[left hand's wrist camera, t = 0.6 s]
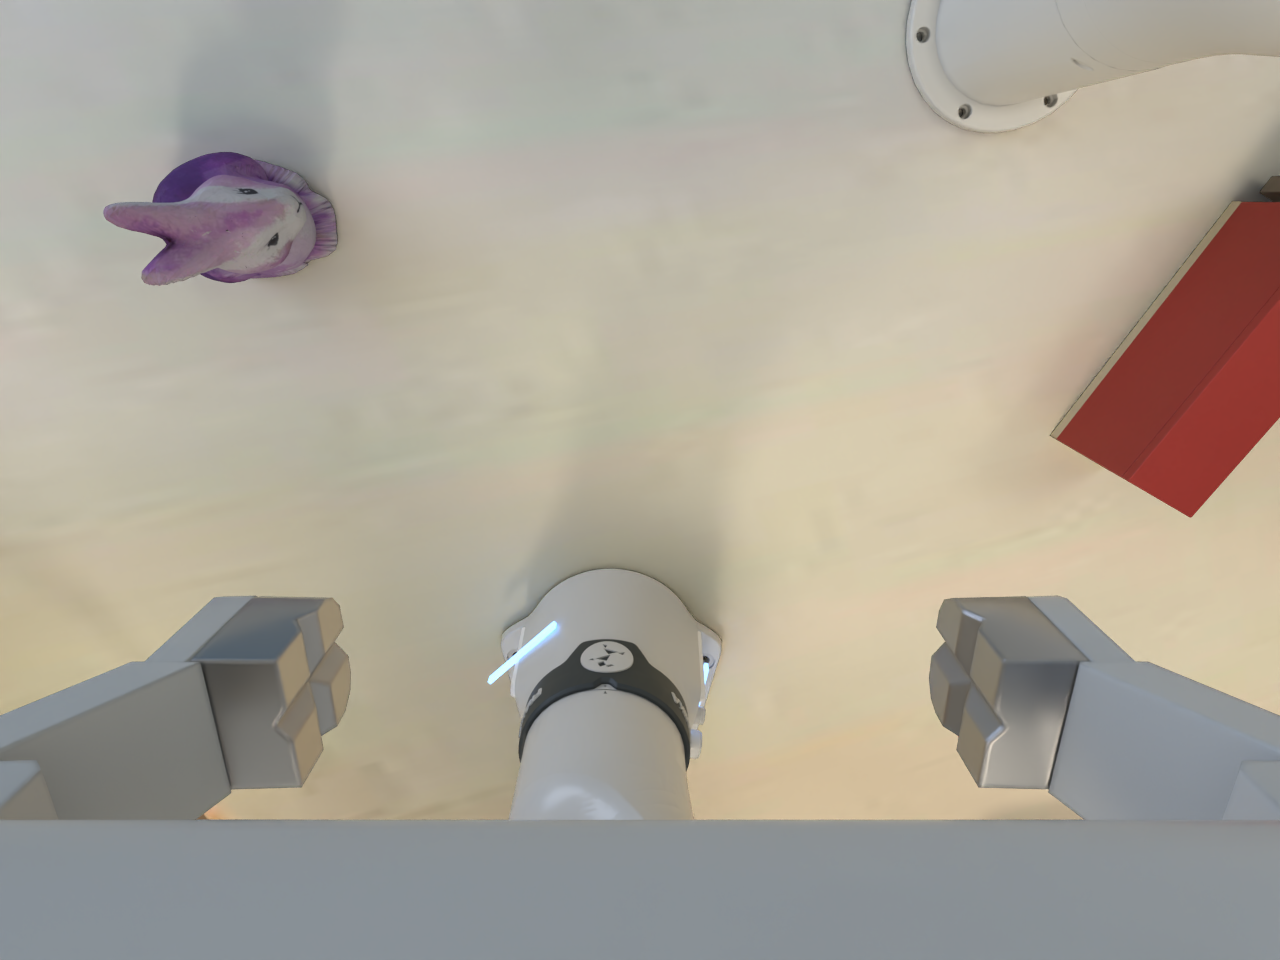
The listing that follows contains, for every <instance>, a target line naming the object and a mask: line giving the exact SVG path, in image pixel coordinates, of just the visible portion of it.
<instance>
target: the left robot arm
mask: <svg viewBox="0 0 1280 960" xmlns="http://www.w3.org/2000/svg"><path fill="white" fill-rule="evenodd" d="M343 628H344V626H343V621H342V616H341V611H340V606H339V604H338V603H337V602H336V601H335V600H334V599H333V598H316V597H262V596H261V597H257V596H224V597H216V598H213V599H212V600H211V601H210V602H209V603H208V604H207V605H206V606H205V607H203V608H202V609H201V610H200V611H199V612H198V613H197V614H196V615H195V616H194V617H193V618H191V619H190V620H189V621H188V622H187V623H186V624H185V625H184V626H183V627H182V628H181V629H179V630H178V631H177V632H176V633H175V634H174V635H173V636H172V637H171V638H170V639H169V640H168V641H166V642H165V643H164V644H163V645H162V646H161V647H160V648H159V649H158V650H157V651H156V652H154V653H153V654H152V655H151V656H150V657H149V658H148V659H147V660H146V661H145V662H130V663H128V664H125V665H123V666H120V667H118V668H115V669H113V670H111V671H108V672H106V673H103V674H101V675H98V676H96V677H93V678H91V679H89V680H86V681H84V682H81V683H79V684H76V685H74V686H71V687H69V688H67V689H64V690H62V691H59V692H57V693H54V694H52V695H49V696H47V697H45V698H42V699H40V700H37V701H35V702H32V703H30V704H27V705H25V706H23V707H20V708H18V709H15V710H13V711H10V712H8V713H5V714H3V715H1V716H0V960H1280V716H1279V715H1277V714H1274V713H1272V712H1269V711H1267V710H1264V709H1262V708H1260V707H1257V706H1255V705H1252V704H1250V703H1247V702H1245V701H1243V700H1240V699H1238V698H1235V697H1233V696H1230V695H1228V694H1225V693H1223V692H1221V691H1218V690H1216V689H1213V688H1211V687H1208V686H1206V685H1204V684H1201V683H1199V682H1196V681H1194V680H1191V679H1189V678H1186V677H1184V676H1182V675H1179V674H1177V673H1174V672H1172V671H1169V670H1167V669H1165V668H1162V667H1160V666H1157V665H1155V664H1152V663H1150V662H1135V661H1134V660H1133V659H1132V658H1131V657H1130V656H1129V655H1128V654H1127V653H1126V652H1125V651H1123V650H1122V649H1121V648H1120V647H1119V646H1118V645H1117V644H1116V643H1115V642H1114V641H1113V640H1111V639H1110V638H1109V637H1108V636H1107V635H1106V634H1105V633H1104V632H1103V631H1102V630H1101V629H1100V628H1098V627H1097V626H1096V625H1095V624H1094V623H1093V622H1092V621H1091V620H1090V619H1089V618H1088V617H1087V616H1085V615H1084V614H1083V613H1082V612H1081V611H1080V610H1079V609H1078V608H1077V607H1076V606H1075V605H1074V604H1072V603H1071V602H1070V601H1069V600H1068V599H1067V598H1064V597H1060V596H1034V597H1026V596H1021V597H980V598H951V599H945V600H944V601H943V603H942V605H941V608H940V610H939V614H938V620H937V626H936V628H937V629H938V631H939V632H940V634H941V635H942V637H943V639H944V640H945V643H944V644H943V645H942V646H941V647H940V648H939V649H938V650H937V651H936V652H935V653H934V654H933V655H932V657H931V665H930V673H929V683H930V694H931V700H932V703H933V706H934V709H935V713H936V714H937V716H938V718H939V720H940V722H941V724H942V725H943V726H944V727H945V728H947V729H948V730H950V731H952V732H953V733H955V734H956V735H958V736H959V738H958V744H957V751H958V753H959V755H960V757H961V758H962V760H963V762H964V763H965V765H966V767H967V769H968V770H969V772H970V774H971V775H972V777H973V779H974V780H975V782H976V784H977V786H978V787H981V788H1018V789H1049V791H1048V793H1050V794H1051V795H1052V796H1054V797H1055V798H1056V799H1058V800H1059V801H1060V802H1062V803H1063V804H1064V805H1066V806H1067V807H1068V808H1070V809H1071V810H1072V811H1074V812H1075V813H1076V814H1078V815H1079V816H1080V817H1082V818H1083V819H1084V820H694V817H693V812H692V807H691V801H690V795H689V789H688V782H687V774H686V771H687V768H688V765H689V759H690V758H691V759H696V758H699V756H700V752H701V747H702V733H701V732H700V731H699V730H697V729H698V726H699V724H700V725H703V723H704V720H705V708H704V706H705V703H706V700H707V697H708V693H709V690H710V687H711V684H712V680H713V677H714V674H715V671H716V667H717V664H718V661H719V658H720V654H721V639H720V638H719V636H718V635H717V634H716V633H715V632H713V631H712V630H710V629H709V628H707V627H706V626H704V625H702V624H701V623H699V622H697V621H696V620H695V619H694V618H693V617H692V615H691V614H690V613H689V611H688V610H687V608H686V607H685V606H684V604H683V603H682V601H681V600H680V599H679V598H678V597H677V596H676V595H675V594H674V593H673V592H672V591H671V590H670V589H669V588H667V587H666V586H665V585H663V584H662V583H660V582H658V581H657V580H655V579H653V578H651V577H649V576H646V575H644V574H641V573H638V572H634V571H629V570H623V569H598V570H592V571H587V572H583V573H580V574H577V575H575V576H572V577H570V578H568V579H566V580H564V581H563V582H561V583H559V584H558V585H557V586H555V587H554V588H553V589H552V590H550V591H549V592H548V593H547V594H546V595H545V596H544V597H543V599H542V600H541V601H540V603H539V604H538V605H537V607H536V608H535V609H534V611H533V612H532V613H531V614H530V615H529V616H528V617H527V618H525V619H523V620H521V621H519V622H517V623H515V624H514V625H512V626H511V627H509V628H508V629H507V630H506V631H505V632H504V633H503V635H502V639H501V649H502V653H503V656H504V660H505V664H503V665H502V666H501V667H500V668H499V669H498V670H496V671H495V672H494V673H493V674H492V675H491V676H490V677H489V680H488V683H489V684H492V683H493V682H494V681H495V680H496V679H497V678H499V677H500V676H501V675H502V674H503V673H504V672H506V671H508V674H509V678H510V682H511V696H512V697H514V698H515V700H516V704H517V708H518V711H519V714H520V718H521V725H520V730H519V738H520V740H519V758H520V763H521V764H520V768H519V773H518V778H517V782H516V787H515V792H514V796H513V801H512V806H511V811H510V815H509V820H196V819H197V818H198V817H200V816H201V815H202V814H204V813H205V812H206V811H208V810H209V809H210V808H212V807H213V806H214V805H216V804H217V803H218V802H220V801H221V800H222V799H224V798H225V797H226V796H228V795H229V794H230V793H231V789H261V788H297V787H302V786H303V784H304V782H305V781H306V779H307V777H308V775H309V774H310V772H311V770H312V769H313V767H314V765H315V763H316V762H317V760H318V758H319V757H320V755H321V753H322V751H323V744H322V738H321V736H322V735H324V734H325V733H327V732H328V731H330V730H332V729H333V728H335V727H336V726H337V725H338V724H339V722H340V720H341V718H342V716H343V714H344V712H345V710H346V706H347V702H348V698H349V694H350V685H351V671H350V664H349V657H348V655H347V654H346V653H345V652H344V651H343V650H342V649H341V648H340V647H339V646H338V645H337V644H336V643H335V640H336V639H337V637H338V635H339V634H340V632H341V631H342V629H343ZM514 652H517V653H516V654H515V653H514ZM703 656H707V657H708V658H707V659H705V660H703Z"/></svg>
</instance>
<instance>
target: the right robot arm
mask: <svg viewBox="0 0 1280 960" xmlns="http://www.w3.org/2000/svg"><path fill="white" fill-rule="evenodd" d="M917 33H920V34H921V35H922V40H921V41H918V40H917V37H916V35H917ZM906 48H907V56H908V64H909V67H910V70H911V74H912V77H913V80H914V83H915V85H916V87H917V88H918V90H919V92H920V94H921V95H922V97H923V99H924V100H925V101H926V103H927V104H928V105H929V106H930V107H931V108H932V109H933V111H934V112H935V113H936V114H938V115H939V116H941V117H942V118H943V119H945V120H946V121H947V122H949V123H950V124H953V125H955V126H958V127H960V128H962V129H965V130H969V131H974V132H980V133H999V132H1005V131H1011V130H1016V129H1019V128H1022V127H1025V126H1028V125H1031V124H1034V123H1036V122H1037V121H1039V120H1041V119H1043V118H1045V117H1046V116H1048V115H1050V114H1052V113H1053V112H1054V111H1055V110H1057V109H1058V108H1059V107H1060V106H1062V105H1063V104H1064V103H1065V102H1067V101H1068V100H1069V99H1070V98H1071V97H1072V95H1073V94H1074V93H1075V92H1076V91H1077V90H1078V89H1079V88H1082V87H1086V86H1090V85H1094V84H1098V83H1102V82H1106V81H1110V80H1114V79H1119V78H1123V77H1127V76H1131V75H1135V74H1139V73H1143V72H1147V71H1151V70H1155V69H1158V68H1161V67H1164V66H1168V65H1172V64H1176V63H1181V62H1185V61H1190V60H1194V59H1199V58H1204V57H1210V56H1216V55H1227V54H1246V55H1260V56H1274V57H1280V0H912V1H911V6H910V11H909V16H908V20H907V33H906ZM1045 97H1046V98H1047V103H1046V105H1045V104H1044V98H1045ZM959 109H962V110H963V115H962V116H961V117H960V116H959V113H958V112H959Z"/></svg>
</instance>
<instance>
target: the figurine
mask: <svg viewBox="0 0 1280 960" xmlns="http://www.w3.org/2000/svg"><path fill="white" fill-rule="evenodd" d="M104 217H105V218H106V220H108V221H109V222H111V223H113V224H114V225H116V226H118V227H121V228H125V229H128V230H131V231H137V232H142V233H146V234H150V235H153V236H157V237H160V238H162V239H163V240H164V241H165V243H166V244H167V245H166V247H165V248H164V249H163V250H162V251H161V252H160V253H159V254H158V255H157V256H156V257H155V258H154V259H153V260H152V261H151V262H150V263H149V264H148V265H147V266H146V267H145V268H144V270H143V271H142V277H141V278H142V280H143V281H144V283H146V284H149V285H159V286H160V285H168V284H170V283H175V282H177V281H184V280H186V279H188V278H190V277H195V276H197V275H199V274H201V275H203V276H205V277H207V278H210V279H212V280H216V281H221V282H226V283H235V282H241V281H245V280H247V279H250V278H265V277H277V276H283V275H289V274H294V273H296V272H298V271H299V270H302V269H303V268H304V267H306V266H307V265H308V262H310V260H315V259H317V258H321V257H326V256H328V255H330V254H331V253H332V252H333V251H334V250H335V249H336V245H337V234H336V232H337V231H336V228H337V227H336V226H335V225H336V222H335V220H336V219H335V214H334V209H333V208H332V205H331V203H330V202H329V201H328V200H327V199H326V198H324V197H323V196H321V195H319V194H317V193H315V192H313V191H311V190H310V188H309V187H308V184H307V183H306V181H305V180H304V179H303V178H302V177H300V176H299V175H298V174H297V173H295V172H293V171H290V170H287V169H285V168H282V167H279V166H275V165H272V164H269V163H266V162H261V161H258V160H254V159H252V158H250V157H247V156H244V155H241V154H238V153H233V152H218V153H212V154H206V155H203V156H200V157H198V158H195V159H193V160H190V161H188V162H186V163H184V164H182V165H180V166H179V167H177V168H175V169H174V170H173V171H172V172H171V173H169V174H168V175H167V176H166V177H165V178H164V179H163V180H162V181H161V182H160V184H159V186H158V187H157V190H156V192H155V194H154V197H153V202H152V203H150V202H125V203H115V204H111V205H108V206H107V207H105V209H104Z"/></svg>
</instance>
